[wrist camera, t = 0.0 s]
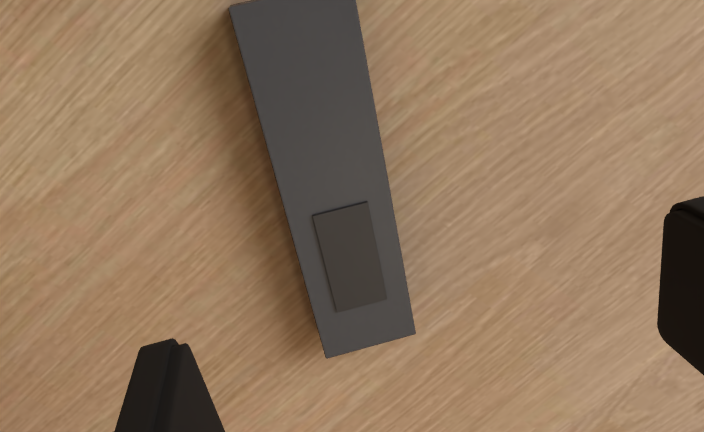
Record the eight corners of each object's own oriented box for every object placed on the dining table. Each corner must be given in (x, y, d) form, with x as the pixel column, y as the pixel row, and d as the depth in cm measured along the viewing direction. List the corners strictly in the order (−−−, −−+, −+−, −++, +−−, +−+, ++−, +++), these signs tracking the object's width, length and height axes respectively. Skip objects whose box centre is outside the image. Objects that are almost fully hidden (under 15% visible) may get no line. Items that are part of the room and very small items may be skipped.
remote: (230, 5, 20) (227, 7, 18) (343, -21, 21) (353, -21, 19) (321, 334, 27) (326, 361, 25) (405, 311, 27) (416, 336, 26)
